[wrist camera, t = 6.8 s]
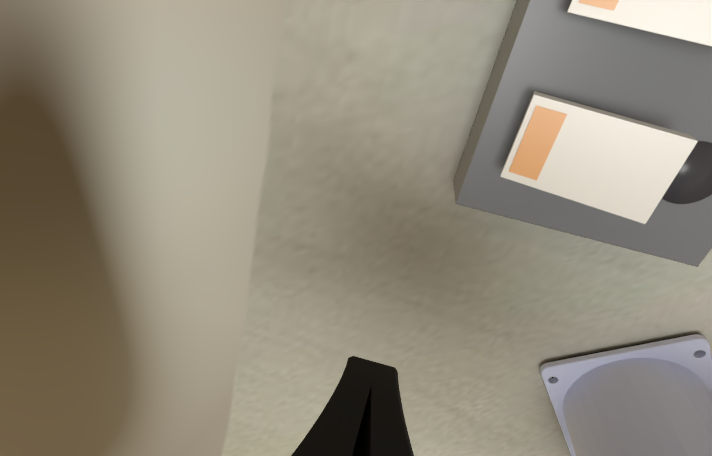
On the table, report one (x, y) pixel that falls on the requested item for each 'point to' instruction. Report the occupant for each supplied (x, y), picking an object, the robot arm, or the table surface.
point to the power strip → (605, 92)
